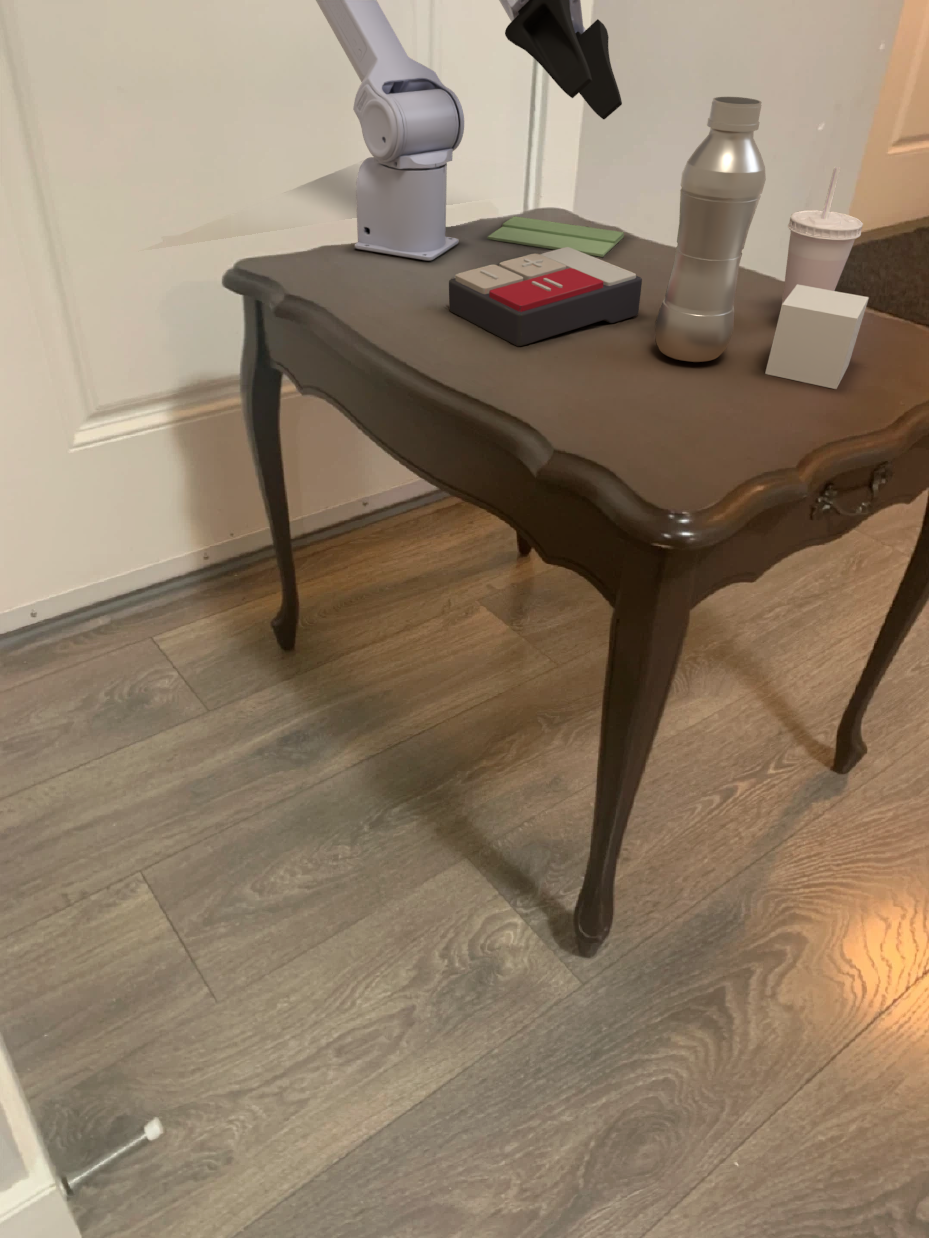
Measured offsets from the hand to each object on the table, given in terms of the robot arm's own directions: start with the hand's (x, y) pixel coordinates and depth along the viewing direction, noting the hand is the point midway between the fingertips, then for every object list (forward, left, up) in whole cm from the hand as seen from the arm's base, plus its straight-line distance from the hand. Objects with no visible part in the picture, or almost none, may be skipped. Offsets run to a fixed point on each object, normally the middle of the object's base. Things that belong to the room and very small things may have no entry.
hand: (597, 100), depth 80 cm
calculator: (-2, -3, -18) cm, 19 cm away
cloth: (-9, +22, -18) cm, 30 cm away
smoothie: (+21, +6, -18) cm, 28 cm away
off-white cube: (+23, -5, -18) cm, 29 cm away
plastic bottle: (+13, -7, -18) cm, 23 cm away
